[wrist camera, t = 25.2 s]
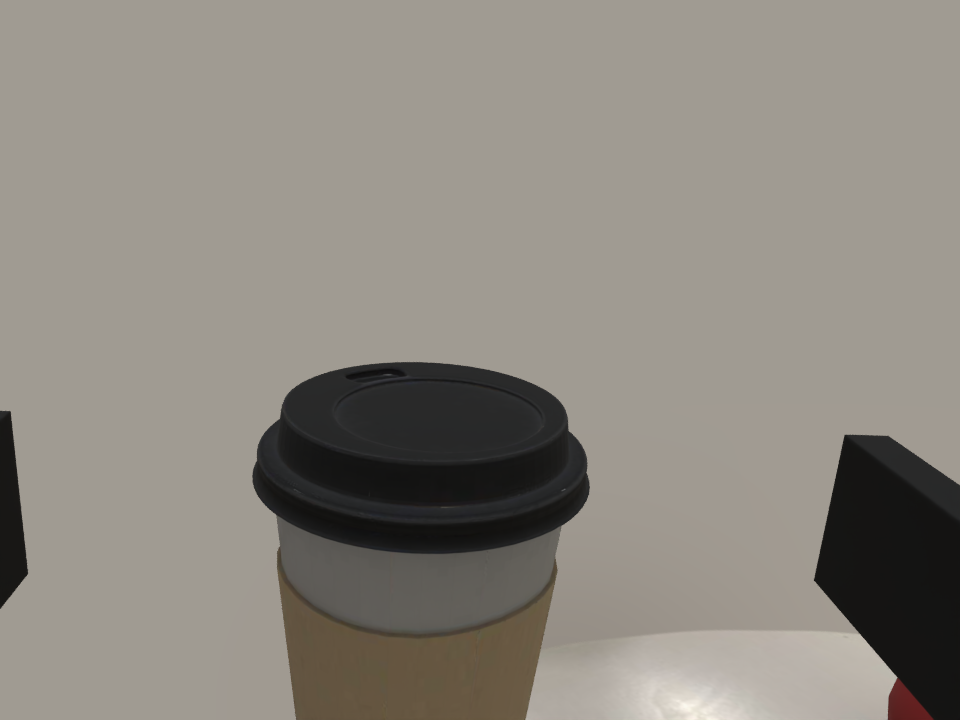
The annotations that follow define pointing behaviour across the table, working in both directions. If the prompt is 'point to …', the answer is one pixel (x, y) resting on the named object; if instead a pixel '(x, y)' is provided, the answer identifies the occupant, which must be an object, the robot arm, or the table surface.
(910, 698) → the tomato
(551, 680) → the table surface
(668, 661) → the table surface
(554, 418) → the coffee cup
